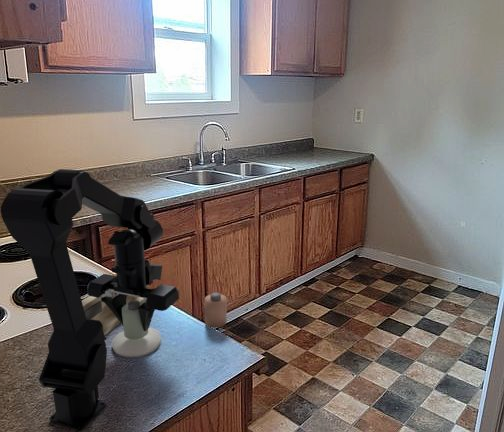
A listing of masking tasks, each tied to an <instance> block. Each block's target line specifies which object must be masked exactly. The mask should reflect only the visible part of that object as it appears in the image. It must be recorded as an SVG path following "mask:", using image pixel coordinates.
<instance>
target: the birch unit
mask: <svg viewBox="0 0 504 432" xmlns="http://www.w3.org/2000/svg"><path fill="white" fill-rule="evenodd" d="M101 298H103V294H102V295H101V296H100V297H99V298H97V297H92V296H88V295H87V297H85V298H84V299H81V300H82V304H83V308H84V312H85V315H86V318H87V319H91V320H99V321H100V322H101V323H102V325H103V332H104V335H105V336H106V335H107V334H109V333H110V332H111V331H112V330H113V329H115V328H117V326H119V325H120V324H121V323H120V322H119V320H118V319H117V317H116V316H115V315H114V313H113V312H112V311H111V310H110V308H109V307H108V306H107V305H106V304H105V303H104V302H102V301H101ZM134 300H136V301H139V302H142V303H144V301H145V300H144V298H142V297H135V296H130V295H127V298H126V304H128V303H129V302H130V301H134Z"/></svg>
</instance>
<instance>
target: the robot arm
mask: <svg viewBox="0 0 504 432" xmlns="http://www.w3.org/2000/svg"><path fill="white" fill-rule="evenodd" d="M83 206H85V207H87V208H89V209H91V210H93V211H94V212H97V213H99V214H100V215H101V216H100V218H101V221H103V222H104V223H105V224H106V225H107V226H109V227H113V228H122V229H123V228H124V229H123V230H121V231H119V230H118V231H117V230H115V231H114V232H113V233H112V236H111V237H110V238H109V239H108V242H107V244H108V245H110V246H113V251H114V261H115V263H114V264H115V265H113V266H111V272H112V273H114V274H117V276H113V275H114V274H108V273H103V274H100V276H99V275H98V277H96V278H95V279H93V280H91V281H89V283H88V284H87V287H86V288H87V297H88V296H92V297H97V298H99V297H100V296H101V295H102V294H103V298H101V301H102V302H104V303H105V304H106V305H107V306H108V307H109V308H110V310H111V311H112V312H113V313H114V315H115V316H116V317H117V319H118V320H119V322H120V324H121V325H122V327H123V318H122V307H123V306H124V305H126V298H127V295H130V296H135V297H142V298H144V300H145V301H144V303H143V304H142V305H140V306H139V307H138V311H139V315H140V319H141V323H142V327H143V329H144V331H147V330H148V329H149V327H150V325H151V322H152V320H153V317H154V313H155V311H159V312H163V311H167V310H168V309H169V308H170V307H171V306H173V305H174V304H175V303H176V302H177V301H178V300H179V299H180V295H179V294H180V293H179V292H180V291H179V289H178V288H177V287H176V286H173V285H168V284H159V285H157V286H156V287H154V288H153V287H152V288H147V287H148V286H150V285H152V284H153V283H154V281H155V280H156V281H157V280H158V281H161V279H162V273H163V265H162V264H156V263H150V260H147V259H146V257H145V251H147V250H149V249H150V248H151V247H152V246H154V245H155V244H156V243H158V241H160V240H161V239H162V237H163V235H164V229H163V227H162V225H161V223H160V222H159V221H158V220H157V219H155V215H154V213H151V212H150V210H149V207H148V206H147V205H146V202H145V201H144V200H143V199H140V198H137V197H131V196H125V195H121V194H119V193H117V192H116V191H114V190H113V189H111V188H109V187H108V186H106V185H105V184H104V183H101V182H100V181H99V180H96V179H95V178H93V177H92V176H91V174H89V172H87V171H85V170H83V169H68V168H67V169H65V168H59V169H57V170H54V171H53V172H51V173H50V174H48V175H47V176H44V177H42V178H39V179H35V180H34V181H31V182H28V183H26V184H23V185H22V186H20V187H16V188H13V189H11V190H10V191H9V192H8V193H7V194H6V196H5V198H4V199H3V201H2V203H1V205H0V215H1V219H2V221H3V224H4V225H5V227H6V229H7V231H8V233H9V234H10V237H11V238H12V239H13V240H14V241H15V242H17V243H18V244H19V245H20V247H22V248H23V249H25V250H26V251H27V252H28V254H29V256H30V259H31V262H32V265H33V269H34V271H35V274H36V278H37V281H38V286H39V287H40V291H41V294H42V296H43V299H44V303H45V307H46V309H47V312H48V316H49V319H50V322H51V325H52V330H53V331H52V332H51V336H50V338H49V339H48V342H47V350H48V354H47V356H46V359H45V362H44V364H43V368H42V370H41V372H40V375H39V377H38V382H39V384H40V385H41V386H42V388H50V389H51V388H52V389H53V390H52V397H53V403H54V411H55V412H54V413H53V414H52V415H51V416H49V421H50V422H51V423H54V424H57V425H60V426H63V427H65V428H69V429H72V430H74V431H78V432H79V431H83V429H85V427H86V426H87V425H89V423H91V421H93V420H94V418H96V416H97V415H98V414H99V413H101V411H102V410H103V409H104V408H106V402H105V401H102V400H99V399H100V397H99V395H100V394H99V388H98V386H99V384H100V383H101V382H102V381H103V380H104V379H105V376H106V365H107V357H108V356H107V355H108V349H107V346H106V342H105V341H107V336H106V335H104V332H103V325H102V323H101V322H100V321H99V320H91V319H87V318H86V315H85V312H84V308H83V304H82V300H83V299H82V298H81V293H80V289H79V286H78V283H77V278H76V276H75V275H76V274H75V272H74V267H73V264H72V260H71V256H70V254H69V248H68V245H67V241H68V238H69V237H70V233H71V232H72V230H73V229H72V228H73V226H74V223H73V222H74V221H73V218H74V217H75V216H76V215H77V214H78V213H79V212H80V211H82V209H83Z"/></svg>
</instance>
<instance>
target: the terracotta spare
mask: <svg viewBox="0 0 504 432" xmlns="http://www.w3.org/2000/svg"><path fill="white" fill-rule="evenodd" d="M227 299H228V298H227V297H226V295H223V294H221V293H220V292H212V293H210V294H208V295H206V296H205V298H204V323H205V326H207V327H209V328H212V329H216V328H217V329H218V328H222V327H224V326H226V324H227V316H228V315H227V314H228V313H227V311H228V307H227Z"/></svg>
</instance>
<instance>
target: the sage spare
mask: <svg viewBox="0 0 504 432" xmlns="http://www.w3.org/2000/svg"><path fill="white" fill-rule="evenodd" d="M142 304H143V303H142V302H139V301H136V300H134V301H130V302H129V303H128V304H126V305H124V306H123V307H122V318H123V326H122V329H123V331H124V336H125V337H126V338H128V339H140V338H143V337H145V336H146V335H147V334H148V330H147V331H144V329H143V327H142V323H141V319H140V315H139V311H138V307H139V306H140V305H142Z"/></svg>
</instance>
